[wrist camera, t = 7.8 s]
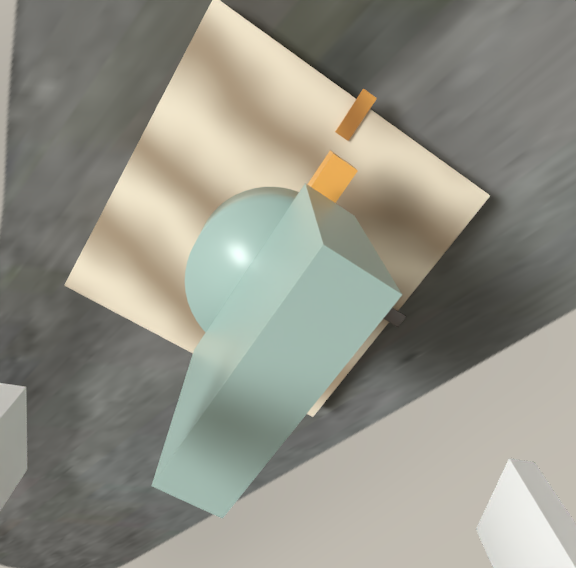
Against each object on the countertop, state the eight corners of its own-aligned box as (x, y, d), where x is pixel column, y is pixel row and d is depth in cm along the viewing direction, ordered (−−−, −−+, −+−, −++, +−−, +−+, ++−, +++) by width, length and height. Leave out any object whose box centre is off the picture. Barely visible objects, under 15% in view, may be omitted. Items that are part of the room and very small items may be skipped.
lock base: (224, -9, 29) (212, -30, 24) (492, 186, 34) (532, 205, 29) (75, 275, 36) (40, 307, 31) (318, 405, 41) (324, 453, 35)
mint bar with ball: (161, 294, 30) (74, 450, 17) (274, 110, 26) (271, 134, 13) (283, 362, 32) (288, 548, 19) (404, 201, 28) (512, 298, 15)
